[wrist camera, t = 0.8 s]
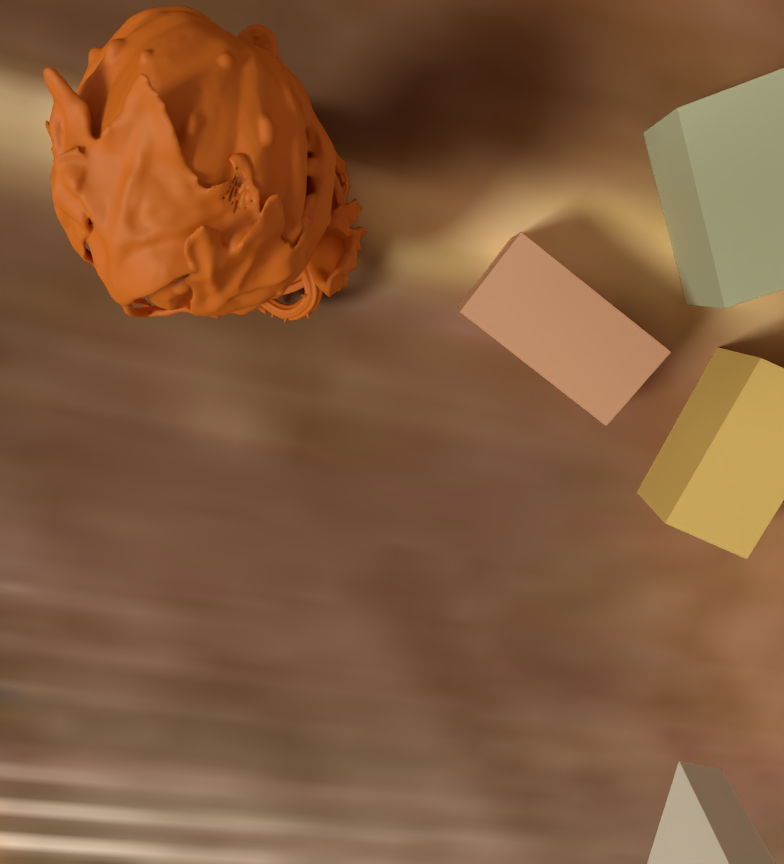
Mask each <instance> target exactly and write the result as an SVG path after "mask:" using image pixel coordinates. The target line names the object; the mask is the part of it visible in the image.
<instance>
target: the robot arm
mask: <svg viewBox="0 0 784 864" xmlns="http://www.w3.org/2000/svg"><path fill="white" fill-rule="evenodd" d="M647 864H775V862H774V860H773V858H772V857H771V855H770V853H769V851H768V849H767V848H766V846H765V844H764V842H763V841H762V839H761V837H760V835H759V834H758V832H757V830H756V828H755V827H754V825H753V823H752V821H751V819H750V818H749V816H748V814H747V812H746V811H745V809H744V807H743V805H742V804H741V802H740V800H739V798H738V796H737V795H736V793H735V791H734V789H733V788H732V786H731V784H730V782H729V781H728V779H727V777H726V775H725V774H724V772H723V770H722V769H720V768H714V767H709V766H703V765H698V764H692V763H687V762H682V761H679V763H678V766H677V770H676V773H675V776H674V779H673V782H672V786H671V789H670V792H669V795H668V798H667V802H666V805H665V808H664V811H663V814H662V818H661V821H660V824H659V827H658V831H657V834H656V837H655V840H654V843H653V847H652V850H651V853H650V856H649V859H648V863H647Z"/></svg>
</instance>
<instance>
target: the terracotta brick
mask: <svg viewBox="0 0 784 864" xmlns="http://www.w3.org/2000/svg"><path fill="white" fill-rule="evenodd" d="M458 309H459V311H460V312H461V313H462V314H463V315H465V316H466V317H467V318H468V319H470V320H471V321H472V322H474V323H475V324H476V325H477V326H479V327H480V328H481V329H483V330H484V331H485V332H486V333H488V334H489V335H490V336H492V337H493V338H494V339H495V340H497V341H498V342H499V343H501V344H502V345H503V346H504V347H506V348H507V349H508V350H509V351H511V352H512V353H513V354H515V355H516V356H517V357H518V358H520V359H521V360H522V361H524V362H525V363H526V364H527V365H529V366H530V367H531V368H533V369H534V370H535V371H536V372H538V373H539V374H540V375H542V376H543V377H544V378H545V379H547V380H548V381H549V382H550V383H552V384H553V385H554V386H556V387H557V388H558V389H559V390H561V391H562V392H563V393H565V394H566V395H567V396H568V397H570V398H571V399H572V400H574V401H575V402H576V403H577V404H579V405H580V406H581V407H583V408H584V409H585V410H586V411H588V412H589V413H590V414H592V415H593V416H594V417H595V418H597V419H598V420H599V421H600V422H602V423H603V424H604V425H606V426H607V424H608V423H609V422H610V421H611V420H612V419H613V418H614V416H615V415H616V414H617V413H618V412H619V411H620V410H621V409H622V407H623V406H624V405H625V404H626V403H627V402H628V401H629V399H630V398H631V397H632V396H633V395H634V394H635V393H636V391H637V390H638V389H639V388H640V387H641V386H642V385H643V383H644V382H645V381H646V380H647V379H648V378H649V377H650V376H651V374H652V373H653V372H654V371H655V370H656V369H657V368H658V366H659V365H660V364H661V363H662V362H663V361H664V360H665V358H666V357H667V356H668V355H669V354H670V353H671V352H670V351H669V350H668V349H667V348H665V347H664V346H663V345H662V344H660V343H659V342H658V341H657V340H655V339H654V338H653V337H652V336H650V335H649V334H648V333H647V332H645V331H644V330H643V329H642V328H640V327H639V326H638V325H637V324H635V323H634V322H633V321H632V320H630V319H629V318H628V317H627V316H625V315H624V314H623V313H622V312H620V311H619V310H618V309H617V308H615V307H614V306H613V305H612V304H610V303H609V302H608V301H607V300H605V299H604V298H603V297H602V296H600V295H599V294H598V293H597V292H595V291H594V290H593V289H592V288H590V287H589V286H588V285H587V284H585V283H584V282H583V281H582V280H580V279H579V278H578V277H577V276H575V275H574V274H573V273H572V272H570V271H569V270H568V269H567V268H565V267H564V266H563V265H562V264H560V263H559V262H558V261H557V260H555V259H554V258H553V257H552V256H550V255H549V254H548V253H547V252H545V251H544V250H543V249H542V248H540V247H539V246H538V245H537V244H535V243H534V242H533V241H532V240H530V239H529V238H528V237H527V236H525V235H524V234H523V233H522V232H521V233H519V234H517V235H516V236H514V237H512V238H511V239H510V240H509V241H508V243H507V244H506V245H505V246H504V248H503V249H502V250H501V252H500V253H499V254H498V256H497V257H496V258H495V259H494V261H493V262H492V263H491V265H490V266H489V267H488V269H487V270H486V271H485V272H484V274H483V275H482V276H481V278H480V279H479V280H478V282H477V283H476V284H475V285H474V287H473V288H472V289H471V291H470V292H469V293H468V295H467V296H466V297H465V298H464V300H463V301H462V302H461V304H460V305H459V306H458Z"/></svg>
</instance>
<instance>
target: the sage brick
mask: <svg viewBox="0 0 784 864" xmlns="http://www.w3.org/2000/svg"><path fill="white" fill-rule="evenodd" d="M643 134H644V138H645V142H646V146H647V150H648V154H649V157H650V161H651V165H652V169H653V173H654V177H655V181H656V185H657V189H658V193H659V197H660V201H661V205H662V209H663V213H664V217H665V221H666V225H667V229H668V233H669V237H670V241H671V245H672V249H673V253H674V257H675V261H676V265H677V269H678V273H679V277H680V281H681V285H682V289H683V293H684V297H685V301H686V304H687V305H697V306H707V307H717V308H728V307H731V306H734V305H737V304H740V303H743V302H746V301H749V300H752V299H755V298H758V297H761V296H764V295H767V294H770V293H774V292H777V291H780V290H783V289H784V68H783V69H780V70H777V71H775V72H772V73H769V74H767V75H764V76H761V77H759V78H756V79H753V80H751V81H748V82H745V83H743V84H740V85H737V86H735V87H732V88H729V89H727V90H724V91H721V92H719V93H716V94H714V95H711V96H708V97H706V98H703V99H700V100H698V101H695V102H692V103H690V104H687V105H684V106H682V107H679V108H677V109H675V110H674V111H673V112H671V113H670V114H669V115H667V116H666V117H664V118H663V119H662V120H660V121H659V122H658V123H656V124H655V125H653V126H652V127H651V128H649V129H648V130H647V131H645V132H644V133H643Z"/></svg>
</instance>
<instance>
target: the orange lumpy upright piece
mask: <svg viewBox="0 0 784 864" xmlns="http://www.w3.org/2000/svg"><path fill="white" fill-rule="evenodd" d="M43 73H44V79H45V83H46V86H47V88H48V90H49V91H50V93H51V94H52V96H53V99H54V104H53V108H52V113H51V117H50V122H48V121H46V123H45V124H46V128H47V131H48V133H49V135H50V137H51V140H52V144H53V146H52V148H51V150H52V153H53V156H54V158H55V159H54V160H53V168H52V172H51V188H52V198H53V202H54V207H55V211H56V214H57V217H58V219H59V221H60V222H61V224H62V226H63V228H64V229H65V231H66V234H67V236H68V238H69V240H70V242H71V244H72V246H73V248H74V249H75V250H76V252H78V253H79V254H80V256H81V257H82V258H83V259H84V260H85V261H86V262H89V263H91V264H92V265H93V266H94V267H95V268H96V271H97V274H98V275H99V276H100V278H101V279H102V281H103V282H104V284H105V286H106V287H107V290H108V292H109V293H110V295H111V296H112V298H113V299H114V300H115V301H116V302H118V303H119V304H120V305H122V307H123V310H124V312H125V313H126V314H127V315H129V316H132V317H155V316H168V315H173V314H176V313H179V312H188V313H191V314H194V315H196V316H211V317H213V318H219V317H220V315H228V314H230V313H235V314H239V315H244V314H246V313H249V312H251V311H253V310H254V309H259V310H260V311H261V312H263V313H264V314H267V310H268V311H269V312H270V313H271V317H273V316H274V315H275V316H277V317H279V318H282V319H285V320H284V323H285V322H286V321H287V320H297V319H302V318H304V317H306V316H307V318H308V319H309V314H310V313H312V312H313V311H314V310H315V309H316V308H317V306H318V305H319V304H320V301H321V299H322V294H323V292H324V293H325V294H326V295H327V296H328V297H331V296H332V295H333V294H334V293H335V292H338V291H340V290H341V287H346V286H347V277H348V273H349V272H350V271H351V270H353V269H355V268H356V261H357V252H356V251H358V250H361V245H360V243H359V241H360V238H361V237H362V236H363V235H365V234H366V233H367V231H366V230H365V229H364V228H362V227H358V228H357V229H352V228H350V225H352V224H353V223H354V222H356V220H357V218H358V215H359V213H360V212H361V210H362V206H361V205H360V204H359V203H357V202H356V201H357V199H354V200H353V201H352V202H351V203H350V204H348V203H346V199H347V196H348V193H349V188H350V184H349V178H348V175H347V171H346V169H347V166H346V162H345V161H344V160H343V159H342V158H341V157H340V156H339V155H338V153H337V152H336V151H335V149H334V146H333V143H332V141H331V140H330V138H329V136H328V135H327V133H326V131H325V130H324V128H323V126H322V125H321V123H320V122H319V120H318V118H317V116H316V115H315V113H314V111H313V109H312V105H311V103H310V100H309V97H308V95H307V93H306V90H305V88H304V87H303V85H302V83H301V82H300V81H299V80H298V78H297V77H296V76H295V75H294V74H293V73H292V72H291V71H290V70H289V69H288V68H287V67H286V66H285V64H284V63H283V61H282V60H281V59H280V58H279V57H278V45H277V40H276V38H275V36H274V34H273V33H272V31H271V30H269V29H268V28H266V27H264V26H262V25H252V26H249V27H247V28H246V29H245V30H244V31H242V32H241V33H240V34H239V35H238V37H236V36H234V35H233V34H231V33H229V32H228V31H226V30H224V29H223V28H221V27H220V26H218V25H217V24H216V23H215V22H213V21H212V20H211V19H210V18H209V17H207V16H206V15H204V14H203V13H201V12H199V11H197V10H194V9H192V8H188V7H184V6H166V7H160V8H154V9H147V10H144V11H141V12H139V13H137V14H135V15H133V16H132V17H130V18H129V19H128V20H127V21H126V22H125V23H124V24H123V25H122V26H121V28H120V29H119V30H118V31H117V32H116V33H115V34H114V35H113V37H112V38H111V39H110V40H109V41H108V43H107V44H106V45H105V46H104V47H103V48H99V47H95V48H92V49H91V50H90V52H89V64H88V67H87V70H86V72H85V74H84V77H83V79H82V81H81V83H80V85H79V87H78V90H77V92H76V93H75V92H74V91H73V89H72V88H71V87H70V86H69V85H68V83H67V82H66V81H65V80H64V79H63V77H62V76H61V75H60V74H59V73H58V72H57V71H56V70H55V69H53V68H51V67H47V68H45V70H44V72H43ZM85 242H87V243H88V244H89V247H90V250H91V252H90V251H89V250H87V249H86V244H85ZM302 288H304V289H305V294H302V295H301V296H302V298H301V299H300V300H299V301H298V302H297V303H295V304H292V305H286V304H283V303H281V302H279V301H277V300H276V299H278V298H279V297H280V296H281V295H285V294H289V293H292V292H295V291H297V290H300V289H302ZM145 296H147V297H148V299H149V300H150V301H151V302H152V303H154V304H155V305H156V306H152V305H150V304H149V303H148V302H147V301H146V300H145V299H138V298H141V297H145ZM132 304H138V305H143V306H145V307H142V308H134V307H133V306H132Z"/></svg>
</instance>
